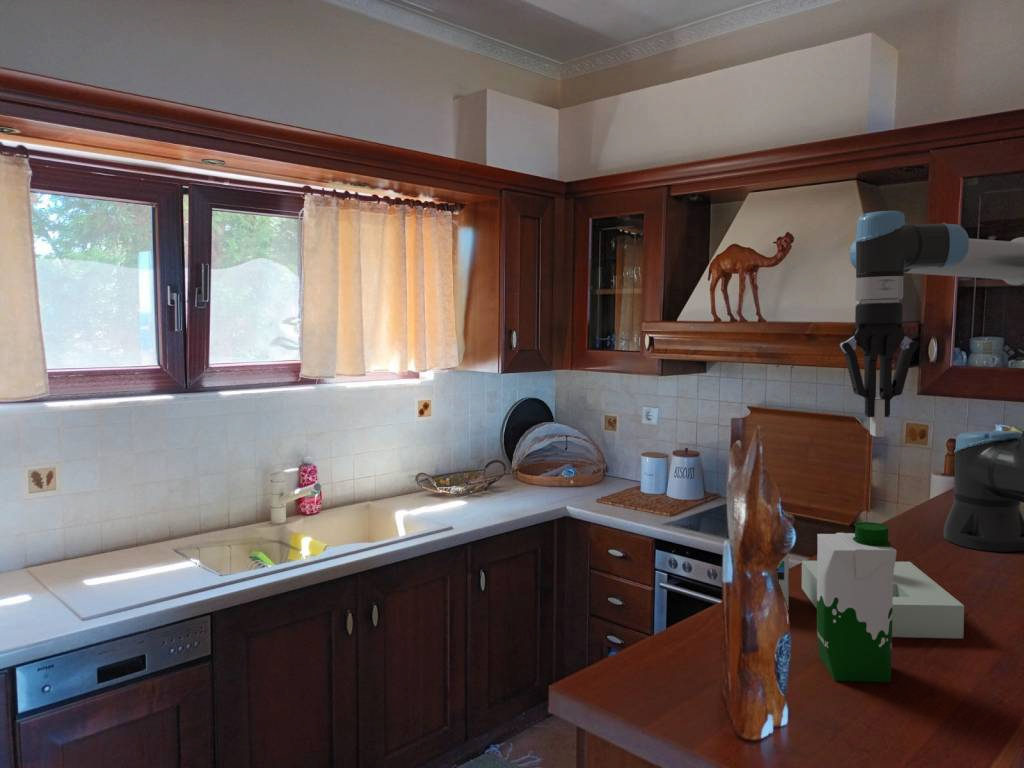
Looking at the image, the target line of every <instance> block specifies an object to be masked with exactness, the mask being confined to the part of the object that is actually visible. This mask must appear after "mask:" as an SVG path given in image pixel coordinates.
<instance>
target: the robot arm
mask: <svg viewBox="0 0 1024 768" xmlns="http://www.w3.org/2000/svg"><path fill="white" fill-rule="evenodd" d="M905 218H906V216H905V214H904V212H903V211H899V210H882V211H880V210H879V211H874V212H873V211H872V212H868V213H863V214H861V215H860V216H859V217H858V219H857V222H856V234H855V240H854V241H853V242H852V244H851V245H850V249H849V260H850V264H851V266H852V267H853V268H854V269H855V297H854V298H855V301H858V304H856V305H855V307H854V308H855V313H854V315H855V317H854V320H855V324H854V325H855V327H854V330H853V332H852V334H851V337H850V338H848V339H847V340H846V341H841V342H840V343H839V344H838V347H839V349H840V350H841V352H842V354H843V355H844V358H845V362H846V365H847V370H848V374H849V378H850V381H851V382H850V383H851V385H852V390H853V393H854V394H855V395H857V396H860V397H861V398H862V397H863V398H864V414H865V417H867V418H870V419H869V434H870V436H873V437H885V418H889V417H890V415H891V400H892V399H893V397H897V396H901V395H902V394H903V390H904V388H905V384H906V380H907V376H908V373H909V368H910V366H911V362H912V358H913V354H914V353H915V352H916V350H917V349H918V348H919V346H920V343H919V341H916V340H912V339H911V338H909V337H907V336H906V332H905V330H904V328H903V321H904V304H902V302H900V300H902V299H903V298H904V276H905V274H915V275H917V274H919V275H931V276H932V275H933V276H944V277H945V276H948V277H962V278H964V277H965V278H978V279H993V280H994V279H995V280H1002V281H1004V282H1005V283H1006V284H1008V285H1011V286H1022V287H1024V236H1020V237H1016V238H1014V239H1012V240H1010V241H1009V240H995V239H984V238H983V239H981V238H971V237H969V234H968V232H967V231H966V230H965V228H964V227H963V226H961V225H958V224H956V223H955V224H954V223H952V224H951V223H946V222H942V223H922V224H921V223H920V224H919V223H918V224H916V223H915V224H911V223H907V222H906V220H905ZM856 345H857V346H856ZM899 346H900V349H901V350H900V352H899V356H898V358H897V363H896V367H895V370H894V373H893V360H894V352H895V351H896V349H897V348H898V347H899ZM857 347H858V348H859V349H860V350H861V351H862V352H863V360H864V373H863V374H864V376H863V377H864V379H863V377H862V373H861V368H860V365H859V359H858V356H857V354H856V350H857ZM878 360H879V380H878V381H879V383H878V384H879V387H878V390H879V397H876V396H877V361H878ZM892 373H893V374H892ZM892 375H893V376H892ZM953 452H954V469H953V470H954V476H953V477H954V481H953V483H954V487H953V488H954V489H953V490H954V492H953V494H954V495H953V496H954V497H953V504H952V505H951V508H950V511H949V513H948V516H947V518H946V521H945V523H944V525H943V538H944V539H945V540H946V541H947V542H950V543H951V544H954V545H957V546H961V547H965V548H968V549H973V550H980V551H988V552H1004V553H1005V552H1006V553H1007V552H1010V553H1011V552H1020V551H1024V515H1023V511H1022V509H1021V503H1024V428H1023V429H1022V432H1021V431H1018V430H988V431H986V430H985V431H983V430H982V431H967V432H962V433H960V434H958V436H957V437H956V439H955V449H954V450H953Z"/></svg>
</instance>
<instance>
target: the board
mask: <svg viewBox="0 0 1024 768" xmlns="http://www.w3.org/2000/svg"><path fill="white" fill-rule="evenodd" d="M801 589H802V590H803V592H804V593H805V595H806V596H807V598H808V599H809V600H810V602H811V603H812V604H813V606H814V607H815V609H816V610H817V560H801ZM964 620H965V605H964V604H963V603H961V602H960V601H959V600H958V599H956V597H954V596H953V595H951V594H950V593H949V592H948V591H946V590H945V589H944V588H943V587H942V586H940V585H939V584H938V583H937V582H936V581H934V580H933V579H932V578H931V577H929V576H928V575H927V574H926V573H924V572H923V570H921V569H919V568H918V567H917V566H916V565H914V564H913V563H912V562H911V561H895V566H894V574H893V611H892V638H914V639H915V638H916V639H917V638H919V639H920V638H923V639H926V638H927V639H928V638H929V639H962V640H963V639H964V632H965V631H964V630H965V629H964V627H965V626H964V624H965V621H964Z"/></svg>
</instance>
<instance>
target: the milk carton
mask: <svg viewBox="0 0 1024 768" xmlns="http://www.w3.org/2000/svg"><path fill="white" fill-rule="evenodd" d="M854 526H855V527H854V533H851V532H847V533H845V532H836V533H817V554H816V555H817V557H816V558H817V559H816V561H817V609H816V633H817V634H816V635H817V637H816V638H817V645H818V646H817V647H818V658H819V659H820V661H821V662H822V664H823V665H824V666H825V668H826V670H827V672H829V674H830V676H831V677H832V679H833V680H834V681H835V682H863V683H864V682H865V683H866V682H868V683H869V682H870V683H871V682H872V683H891V681H892V679H891V677H892V652H893V651H892V648H893V637H892V611H893V574H894V566H895V562H896V559H897V553H898V552H897V550H896V549H895V548H894V546H893V545H891V542H890V541H889V527H888V526H887V525H886V524H884V523H883V524H882V523H877V522H869V521H868V522H867V521H866V522H865V521H863V522H858V523H855V525H854Z"/></svg>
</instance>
